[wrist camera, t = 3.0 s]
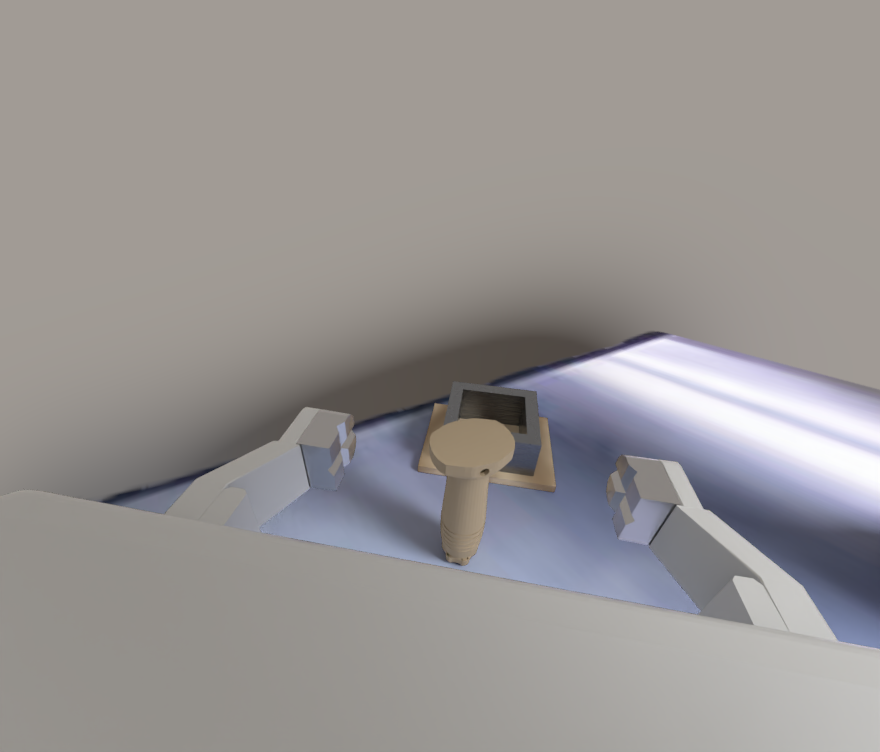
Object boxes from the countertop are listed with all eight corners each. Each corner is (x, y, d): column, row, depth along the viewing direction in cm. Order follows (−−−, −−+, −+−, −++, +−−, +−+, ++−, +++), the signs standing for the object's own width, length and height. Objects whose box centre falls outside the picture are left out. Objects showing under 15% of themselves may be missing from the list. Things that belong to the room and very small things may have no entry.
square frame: (529, 420, 51) (536, 391, 48) (533, 476, 43) (541, 445, 40) (451, 409, 52) (453, 381, 49) (440, 462, 44) (441, 431, 41)
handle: (420, 538, 37) (422, 427, 28) (479, 521, 39) (496, 413, 30) (435, 585, 33) (442, 475, 25) (499, 564, 35) (526, 454, 26)
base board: (545, 423, 52) (547, 418, 51) (554, 492, 42) (556, 486, 42) (434, 408, 54) (435, 403, 53) (417, 471, 44) (417, 465, 43)
